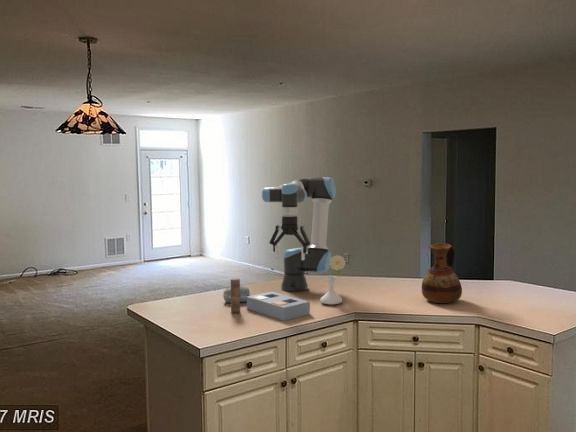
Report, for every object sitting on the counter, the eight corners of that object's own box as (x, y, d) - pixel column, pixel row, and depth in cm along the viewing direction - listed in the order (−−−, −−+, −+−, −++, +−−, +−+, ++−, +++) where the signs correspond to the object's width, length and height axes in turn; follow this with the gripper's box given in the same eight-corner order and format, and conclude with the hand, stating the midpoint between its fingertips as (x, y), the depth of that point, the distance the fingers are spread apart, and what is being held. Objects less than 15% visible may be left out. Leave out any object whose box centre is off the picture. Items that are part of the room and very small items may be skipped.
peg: (229, 312, 245) (228, 279, 243) (236, 310, 248) (236, 278, 246) (234, 314, 242) (234, 280, 240) (242, 312, 244) (241, 279, 243)
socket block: (246, 308, 251) (246, 296, 251) (271, 302, 262) (271, 290, 261) (283, 320, 230) (283, 307, 230) (309, 314, 241) (309, 300, 240)
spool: (250, 292, 272) (246, 278, 266) (252, 304, 264) (248, 290, 258) (225, 299, 270) (220, 285, 265) (227, 311, 263) (222, 297, 257)
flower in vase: (317, 305, 257) (317, 256, 254) (323, 299, 267) (323, 252, 265) (342, 307, 252) (342, 257, 250) (348, 301, 263) (348, 253, 261)
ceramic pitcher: (414, 301, 263) (415, 243, 261) (432, 294, 278) (433, 239, 275) (450, 308, 250) (451, 247, 247) (467, 300, 265) (469, 242, 262)
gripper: (262, 215, 249) (263, 259, 250) (312, 216, 240) (312, 261, 242) (268, 214, 256) (268, 256, 257) (316, 215, 248) (316, 259, 249)
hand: (289, 259), depth 250 cm, fingers open, 13 cm apart
